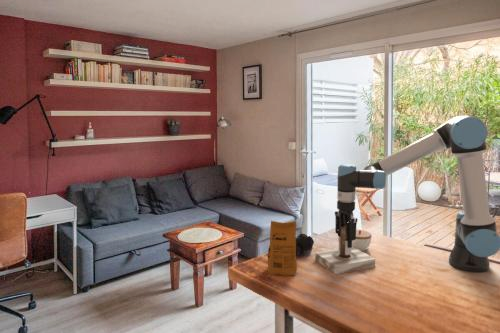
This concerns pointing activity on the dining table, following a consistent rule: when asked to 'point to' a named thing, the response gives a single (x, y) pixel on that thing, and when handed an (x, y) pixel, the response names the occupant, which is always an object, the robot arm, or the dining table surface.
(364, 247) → the lidded jar
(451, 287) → the dining table surface
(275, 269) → the coffee package
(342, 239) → the peg
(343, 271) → the board
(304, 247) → the crystal cluster
